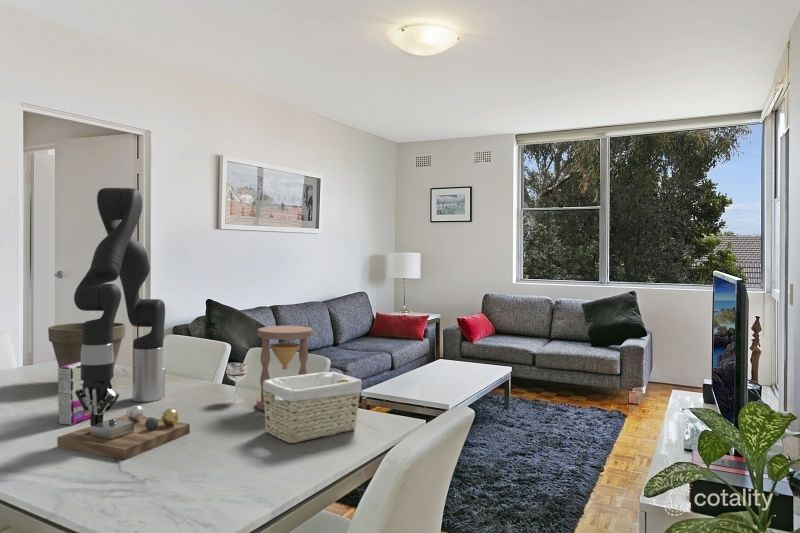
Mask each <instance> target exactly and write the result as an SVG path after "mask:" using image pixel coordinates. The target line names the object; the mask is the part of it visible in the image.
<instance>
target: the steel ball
mask: <svg viewBox="0 0 800 533" xmlns="http://www.w3.org/2000/svg"><path fill="white" fill-rule="evenodd" d="M126 415H127V417H128V419H129V420H131V421H139V420H141V419H142V418H143V417H145V409H144V407H143V406H142V405H140V404H134V405H130V407H129V408H128V409H127V412H126Z"/></svg>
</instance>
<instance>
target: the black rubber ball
mask: <svg viewBox="0 0 800 533" xmlns="http://www.w3.org/2000/svg"><path fill="white" fill-rule="evenodd" d="M157 419H158V418H156V417H153V416H151V417H148V419H147V420H146V422H145V426H146V428H147V429H149V430H153V429H155V428H156V427H157V426H158V420H157Z"/></svg>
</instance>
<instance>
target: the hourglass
mask: <svg viewBox="0 0 800 533" xmlns="http://www.w3.org/2000/svg"><path fill="white" fill-rule="evenodd" d="M313 334H314V333H313V329H312V327H309V326H301V325H271V326H269V325H268V326H264V327H260V328H257V337H259V338H260V339H261V352H260V363H261V368H262V370H261V374H260V378H259V383H260V388H261V390H260V396H259V397H258V398H256V405H255V406H256V408H257V409H259V410H260V411H263V412H265V408H264V406H265V405H264V395H263V391H264V390H263V382H264V381H265V380H269V379H271V378H270V373H269V365H270V361H271V352H270V348H271V350H272V352H273V354H274V356H275V357H276V358H277V359H278V361H279V362H280V364H281V366H282V367H281V368H282V370H288V365H289V364H290V362H291V361H292V360H293V358H294V357H295V355H296V353H297V352H298V359H299V362H300V368H299V371H298V375H305V374H309V373H308V371H307V367H306V366H307V361H308V358H309V355H308V354H309V353H308V352H309V350H308V339H309V338H311V337H312V336H313ZM270 340H277V341H279V340H281V341H282V340H283V341H287V340H289V341H290V340H300V341H299V342H300V343H295V342H279V343H278V342H277V343H272V344H270Z"/></svg>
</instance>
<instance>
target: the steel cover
mask: <svg viewBox="0 0 800 533" xmlns="http://www.w3.org/2000/svg"><path fill="white" fill-rule="evenodd" d="M90 426H91V425H90ZM133 431H134V422H132V421H125V420H119V419H115V418H111V419H108V420H103V422H101V423H98V424H95V425H92V426H91V436H97V437H102V438H108V439H114V438H116V437H119V436H122V435H125V434H127V433H130V432H133Z"/></svg>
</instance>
